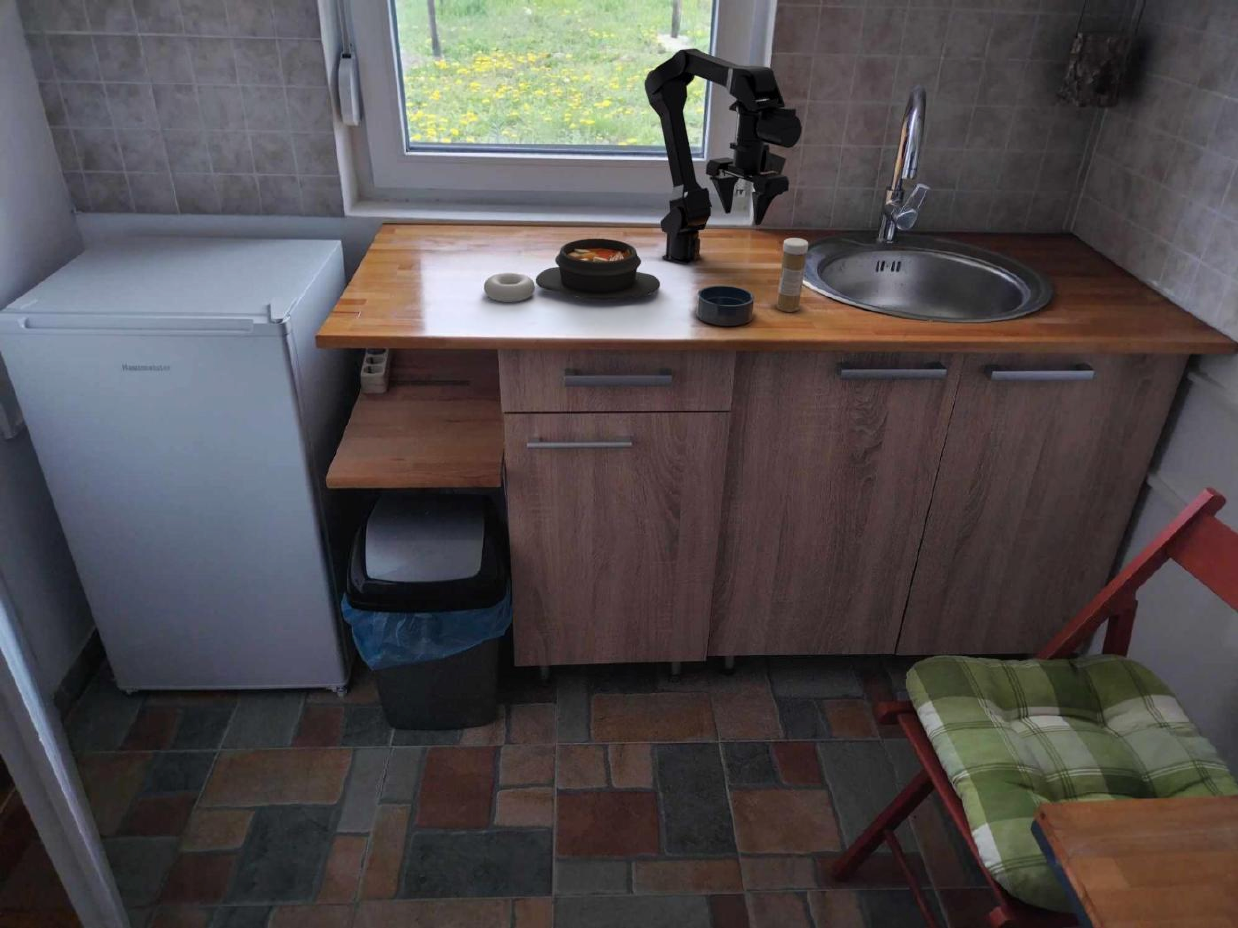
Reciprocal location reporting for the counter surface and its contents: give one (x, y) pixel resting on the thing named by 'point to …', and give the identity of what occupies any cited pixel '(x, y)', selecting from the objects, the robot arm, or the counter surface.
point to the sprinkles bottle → (792, 274)
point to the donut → (509, 287)
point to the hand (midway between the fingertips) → (742, 219)
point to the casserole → (598, 271)
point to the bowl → (725, 305)
